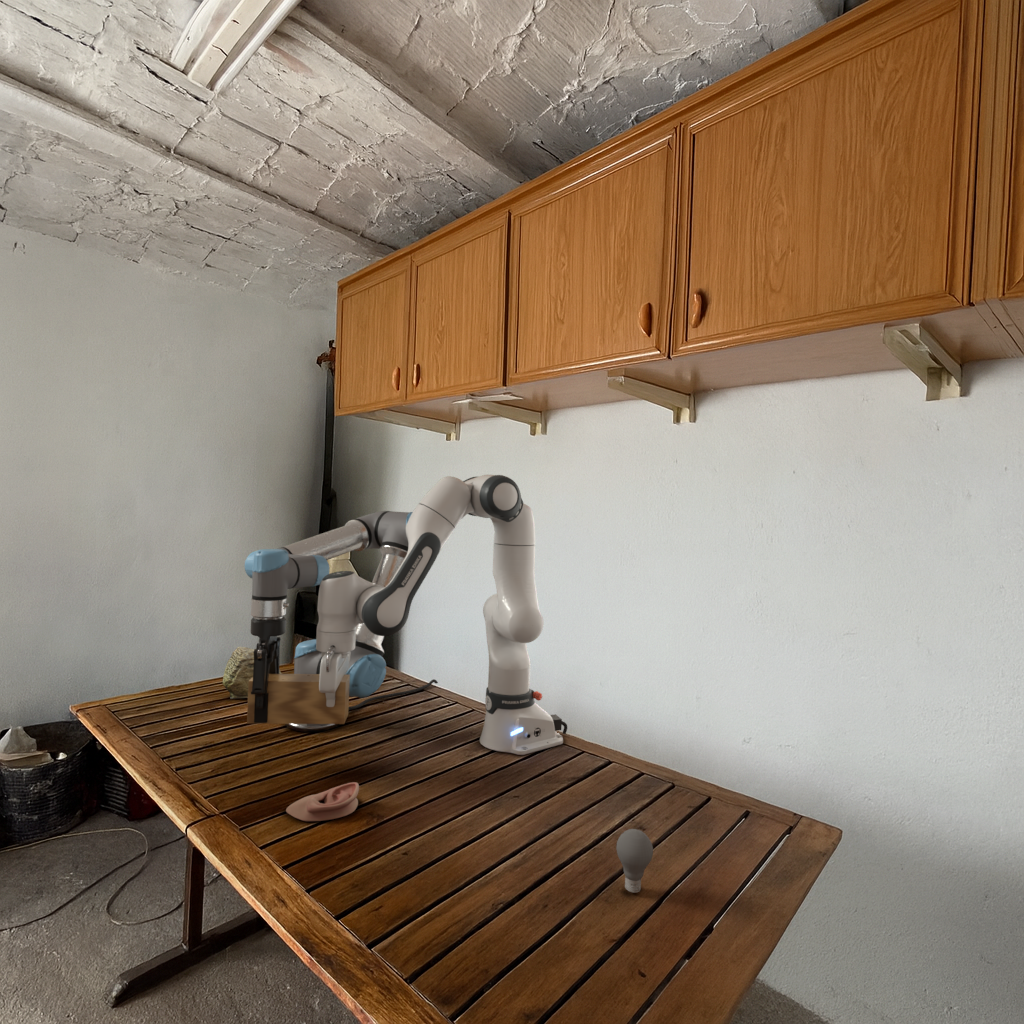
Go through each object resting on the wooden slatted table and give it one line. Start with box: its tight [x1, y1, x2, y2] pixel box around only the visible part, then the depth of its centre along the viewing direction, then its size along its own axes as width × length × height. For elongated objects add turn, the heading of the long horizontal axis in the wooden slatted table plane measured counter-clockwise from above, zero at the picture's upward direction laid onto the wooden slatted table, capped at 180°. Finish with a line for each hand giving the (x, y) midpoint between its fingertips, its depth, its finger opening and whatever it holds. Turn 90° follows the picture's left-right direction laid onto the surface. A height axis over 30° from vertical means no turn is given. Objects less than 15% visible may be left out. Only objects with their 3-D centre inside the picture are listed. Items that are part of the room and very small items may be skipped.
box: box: [246, 673, 350, 725], centre depth 146 cm, size 21×6×10 cm, turn 96°
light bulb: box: [615, 828, 654, 894], centre depth 106 cm, size 6×6×10 cm
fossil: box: [222, 646, 283, 699], centre depth 198 cm, size 9×18×15 cm, turn 132°
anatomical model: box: [285, 781, 360, 822], centre depth 129 cm, size 13×4×12 cm
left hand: (265, 716), depth 146 cm, fingers closed on box, 6 cm apart
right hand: (333, 700), depth 147 cm, fingers closed on box, 6 cm apart
